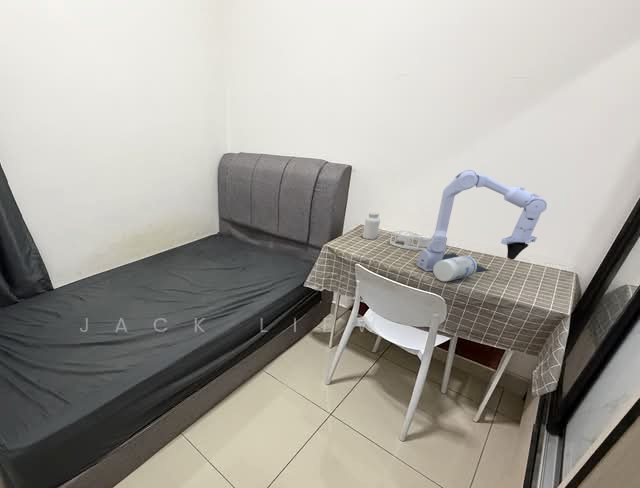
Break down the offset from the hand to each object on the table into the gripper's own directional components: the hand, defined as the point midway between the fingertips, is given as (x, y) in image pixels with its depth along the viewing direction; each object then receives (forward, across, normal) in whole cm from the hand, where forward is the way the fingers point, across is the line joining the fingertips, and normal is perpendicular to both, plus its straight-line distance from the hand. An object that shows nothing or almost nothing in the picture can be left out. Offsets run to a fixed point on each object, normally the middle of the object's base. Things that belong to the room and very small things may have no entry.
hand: (510, 258), depth 127 cm
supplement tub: (+6, -12, +8) cm, 15 cm away
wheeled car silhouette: (+11, -12, +44) cm, 47 cm away
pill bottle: (+11, -26, +62) cm, 68 cm away
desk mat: (+10, -5, +20) cm, 23 cm away
